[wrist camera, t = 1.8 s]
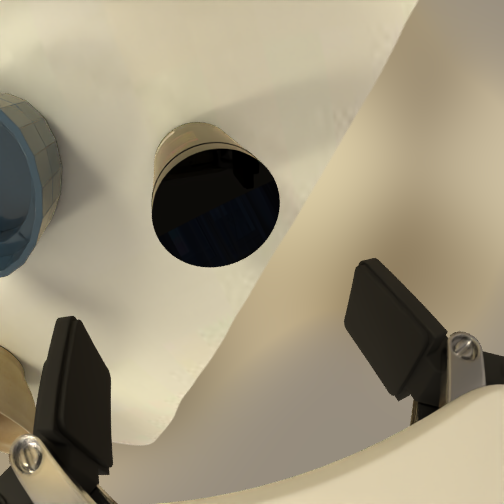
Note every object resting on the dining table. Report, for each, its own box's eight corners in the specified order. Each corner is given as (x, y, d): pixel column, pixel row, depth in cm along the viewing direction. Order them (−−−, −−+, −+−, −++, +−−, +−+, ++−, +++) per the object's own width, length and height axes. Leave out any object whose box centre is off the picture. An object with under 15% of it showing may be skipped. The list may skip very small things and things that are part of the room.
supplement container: (208, 210, 27) (237, 282, 18) (139, 179, 23) (130, 242, 15) (250, 144, 24) (303, 187, 16) (179, 105, 21) (193, 122, 13)
